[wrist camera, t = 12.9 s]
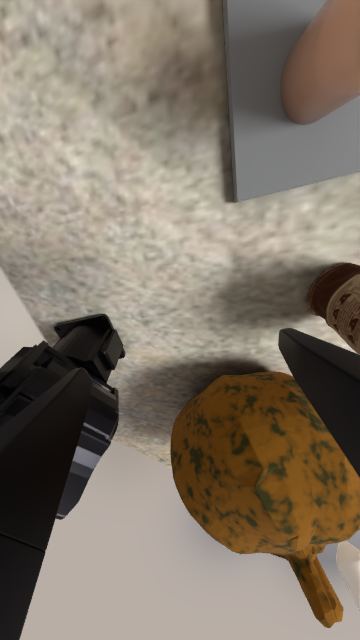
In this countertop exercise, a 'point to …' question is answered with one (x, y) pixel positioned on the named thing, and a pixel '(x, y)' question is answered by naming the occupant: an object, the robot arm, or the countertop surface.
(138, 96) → the countertop surface
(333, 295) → the coffee cup
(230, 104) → the mat
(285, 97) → the terracotta canister
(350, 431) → the robot arm
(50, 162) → the countertop surface
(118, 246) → the countertop surface
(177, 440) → the decorative pumpkin
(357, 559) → the champagne flute
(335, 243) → the countertop surface
